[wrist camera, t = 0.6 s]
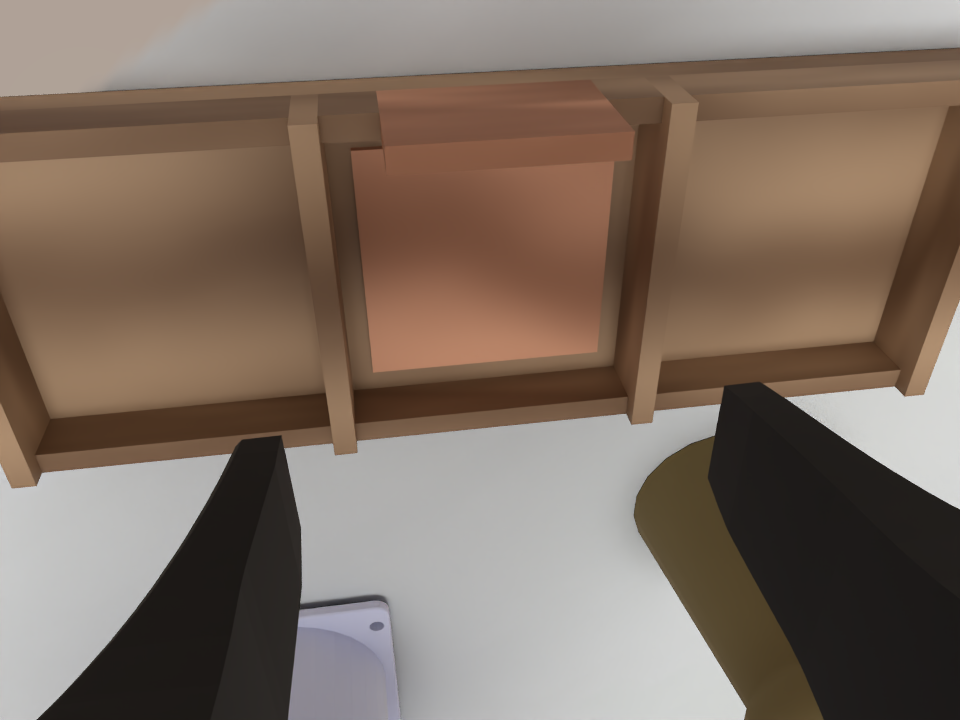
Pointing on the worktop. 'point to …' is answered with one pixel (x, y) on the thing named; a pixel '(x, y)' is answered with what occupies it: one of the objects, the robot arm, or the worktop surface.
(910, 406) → the worktop surface
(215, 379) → the spice rack
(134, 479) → the worktop surface
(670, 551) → the olive bulbous cylinder
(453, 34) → the worktop surface
